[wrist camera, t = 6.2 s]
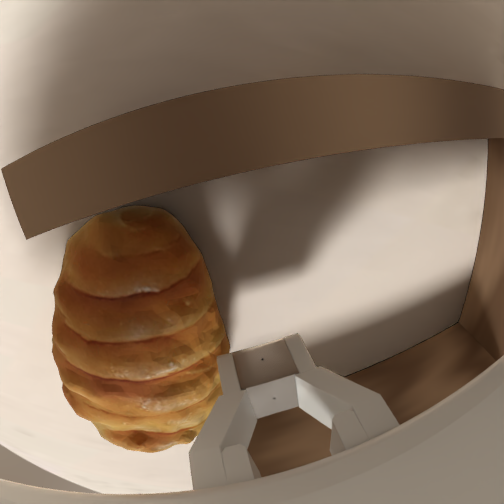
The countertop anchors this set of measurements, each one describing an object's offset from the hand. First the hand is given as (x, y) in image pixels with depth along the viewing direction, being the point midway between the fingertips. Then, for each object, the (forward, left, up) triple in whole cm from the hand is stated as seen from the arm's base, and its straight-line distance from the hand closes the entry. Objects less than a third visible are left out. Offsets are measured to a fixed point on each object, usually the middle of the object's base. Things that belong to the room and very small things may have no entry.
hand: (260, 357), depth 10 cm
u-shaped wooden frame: (-6, 0, -2) cm, 6 cm away
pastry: (+4, 0, -3) cm, 5 cm away
